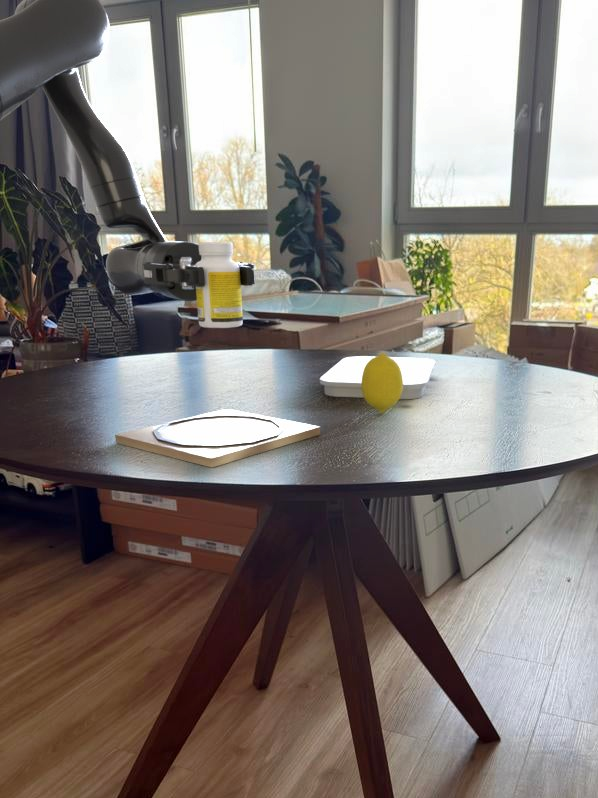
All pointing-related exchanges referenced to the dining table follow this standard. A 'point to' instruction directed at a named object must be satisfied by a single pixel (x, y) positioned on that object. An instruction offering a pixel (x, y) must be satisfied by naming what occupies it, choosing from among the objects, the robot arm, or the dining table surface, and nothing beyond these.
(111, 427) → the dining table surface
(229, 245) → the supplement bottle
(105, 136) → the robot arm
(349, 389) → the white rectangular tray
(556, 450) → the dining table surface
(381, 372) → the lemon
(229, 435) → the mirror board
